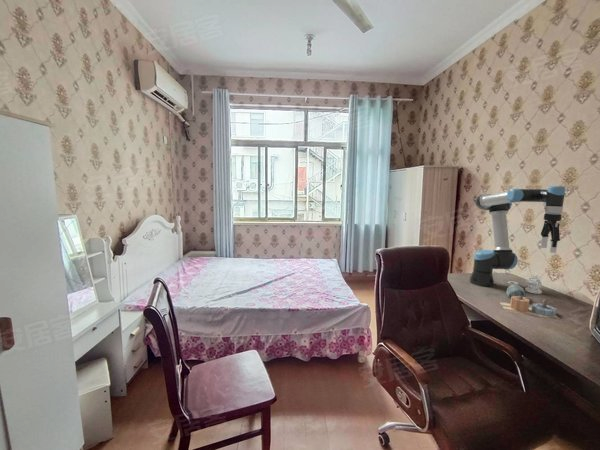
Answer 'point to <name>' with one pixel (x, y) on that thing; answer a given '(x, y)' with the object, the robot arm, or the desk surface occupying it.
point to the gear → (543, 309)
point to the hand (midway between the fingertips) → (547, 250)
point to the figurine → (534, 285)
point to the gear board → (530, 312)
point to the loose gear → (519, 304)
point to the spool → (515, 291)
